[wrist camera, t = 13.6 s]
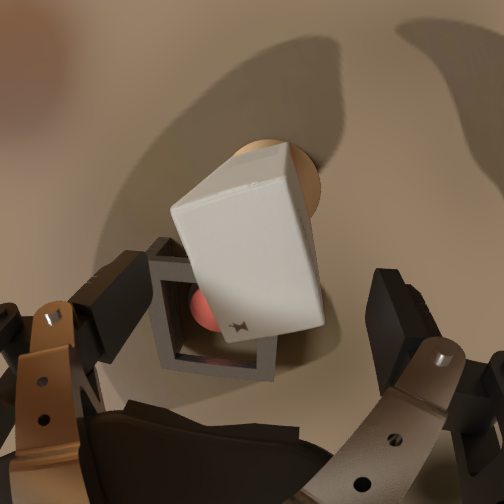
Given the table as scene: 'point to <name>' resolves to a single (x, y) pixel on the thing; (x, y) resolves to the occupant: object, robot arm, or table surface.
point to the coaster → (303, 166)
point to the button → (201, 309)
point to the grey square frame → (170, 327)
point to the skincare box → (253, 246)
